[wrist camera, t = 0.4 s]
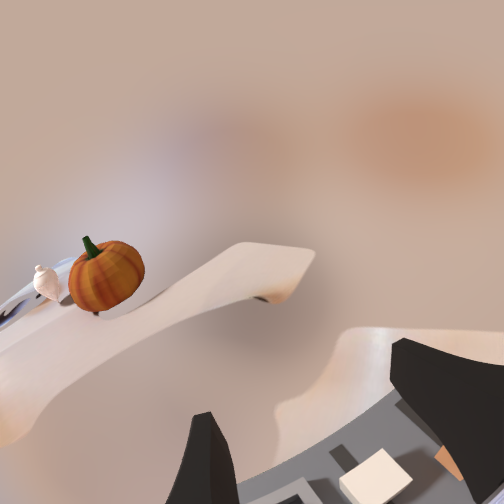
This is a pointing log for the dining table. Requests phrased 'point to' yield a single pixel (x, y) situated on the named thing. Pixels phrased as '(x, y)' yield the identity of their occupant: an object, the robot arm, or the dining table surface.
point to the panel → (356, 452)
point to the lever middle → (374, 480)
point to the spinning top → (46, 283)
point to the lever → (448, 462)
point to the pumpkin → (105, 275)
